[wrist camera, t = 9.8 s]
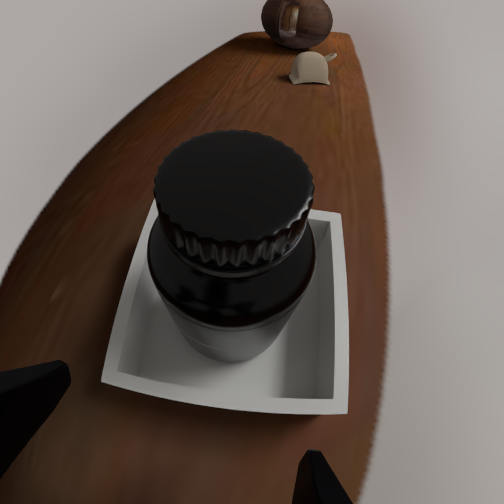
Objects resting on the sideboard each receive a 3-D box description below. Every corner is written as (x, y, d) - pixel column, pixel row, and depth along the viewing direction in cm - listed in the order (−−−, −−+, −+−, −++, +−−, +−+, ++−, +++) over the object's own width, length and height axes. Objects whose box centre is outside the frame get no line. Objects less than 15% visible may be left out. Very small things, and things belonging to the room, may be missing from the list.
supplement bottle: (175, 363, 16) (87, 275, 6) (182, 266, 20) (144, 116, 10) (287, 363, 17) (372, 277, 6) (280, 267, 20) (321, 118, 10)
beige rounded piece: (283, 74, 40) (287, 47, 36) (327, 76, 42) (332, 50, 37) (292, 84, 38) (296, 55, 34) (338, 86, 40) (344, 59, 35)
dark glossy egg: (285, 36, 56) (292, -14, 43) (337, 53, 51) (349, -1, 38) (244, 44, 49) (248, -16, 37) (302, 62, 45) (313, -6, 32)
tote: (321, 413, 16) (347, 413, 12) (129, 389, 16) (100, 381, 12) (323, 248, 22) (340, 213, 19) (167, 231, 22) (156, 193, 19)
